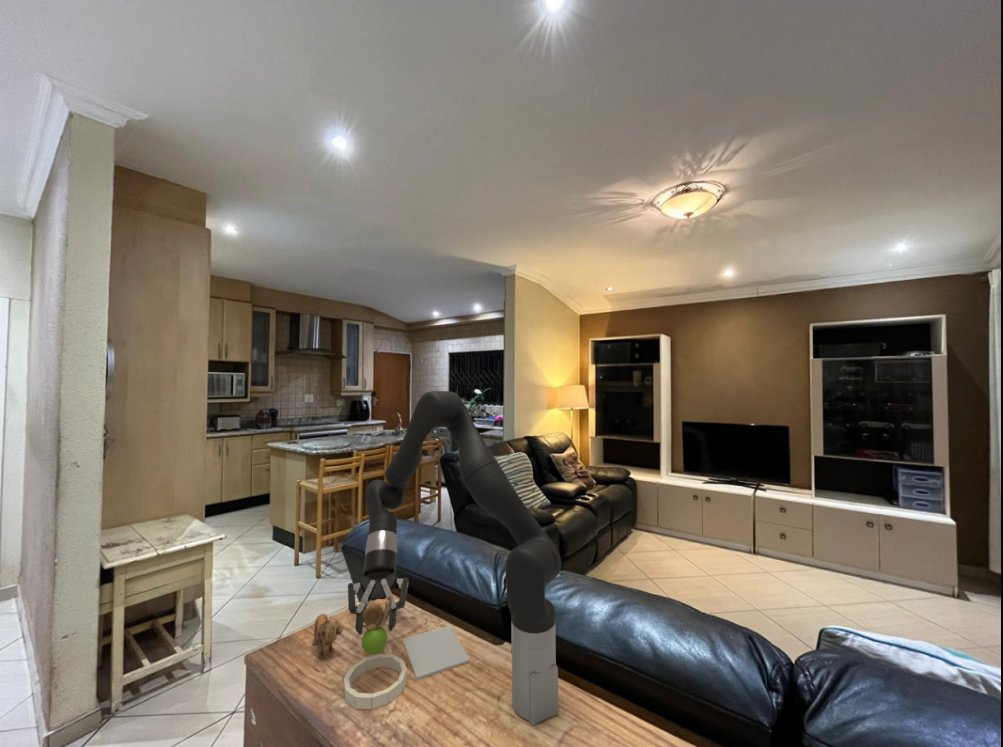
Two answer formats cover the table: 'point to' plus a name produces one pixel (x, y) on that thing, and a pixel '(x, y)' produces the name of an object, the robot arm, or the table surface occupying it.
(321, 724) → the table surface
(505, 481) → the robot arm
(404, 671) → the ceramic ring
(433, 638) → the rubber mat
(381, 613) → the snail figurine
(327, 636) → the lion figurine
